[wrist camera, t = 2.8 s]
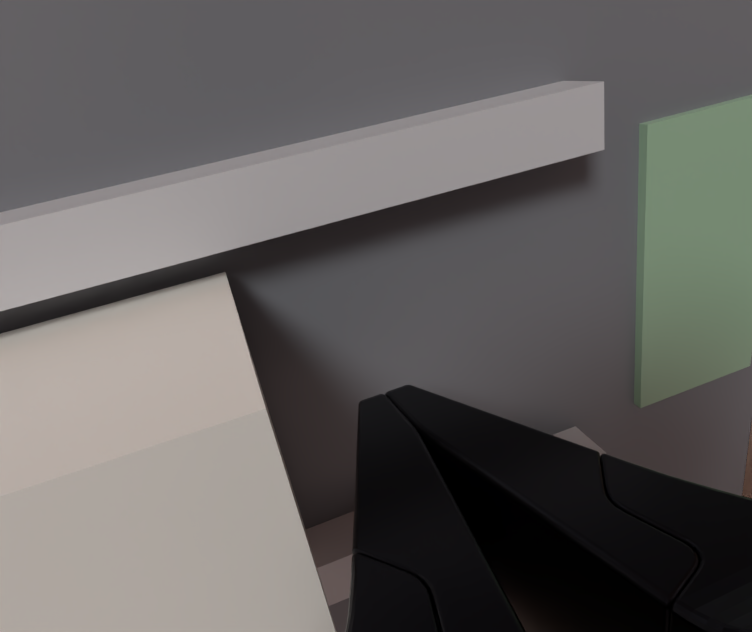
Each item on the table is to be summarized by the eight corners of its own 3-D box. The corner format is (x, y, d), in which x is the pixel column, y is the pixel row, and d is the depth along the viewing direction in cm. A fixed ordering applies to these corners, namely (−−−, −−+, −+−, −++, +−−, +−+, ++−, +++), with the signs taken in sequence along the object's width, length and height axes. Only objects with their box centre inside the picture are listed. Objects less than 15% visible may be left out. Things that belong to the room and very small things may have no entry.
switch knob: (225, 271, 9) (265, 408, 5) (302, 521, 11) (368, 737, 7) (-75, 353, 8) (-272, 587, 4) (75, 607, 10) (26, 899, 6)
